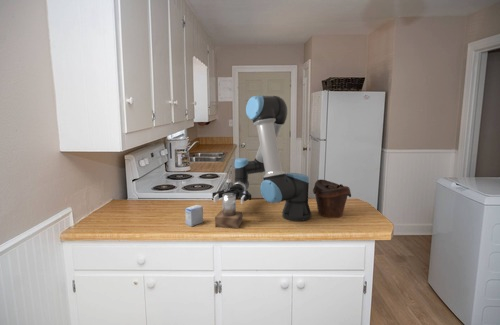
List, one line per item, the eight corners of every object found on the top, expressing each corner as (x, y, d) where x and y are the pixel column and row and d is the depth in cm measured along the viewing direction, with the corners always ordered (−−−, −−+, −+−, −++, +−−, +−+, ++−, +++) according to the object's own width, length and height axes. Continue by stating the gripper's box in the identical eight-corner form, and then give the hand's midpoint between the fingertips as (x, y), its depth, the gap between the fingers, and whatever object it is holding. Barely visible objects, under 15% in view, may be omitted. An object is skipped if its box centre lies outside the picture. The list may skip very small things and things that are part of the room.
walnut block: (242, 221, 176) (242, 211, 175) (237, 228, 165) (237, 218, 164) (221, 219, 178) (221, 210, 177) (215, 227, 167) (215, 217, 166)
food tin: (237, 212, 173) (237, 193, 171) (234, 216, 167) (233, 196, 165) (224, 211, 174) (224, 192, 173) (220, 215, 168) (220, 195, 166)
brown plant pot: (351, 220, 176) (353, 186, 173) (311, 218, 180) (312, 184, 177) (348, 210, 193) (350, 179, 191) (312, 208, 197) (313, 178, 195)
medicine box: (197, 220, 176) (197, 204, 175) (203, 222, 173) (203, 206, 172) (185, 224, 170) (184, 208, 169) (191, 227, 167) (190, 209, 166)
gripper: (260, 197, 186) (253, 209, 166) (215, 195, 191) (203, 206, 170) (260, 184, 185) (253, 194, 164) (215, 182, 190) (203, 191, 169)
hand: (227, 200), depth 167 cm, fingers open, 13 cm apart
